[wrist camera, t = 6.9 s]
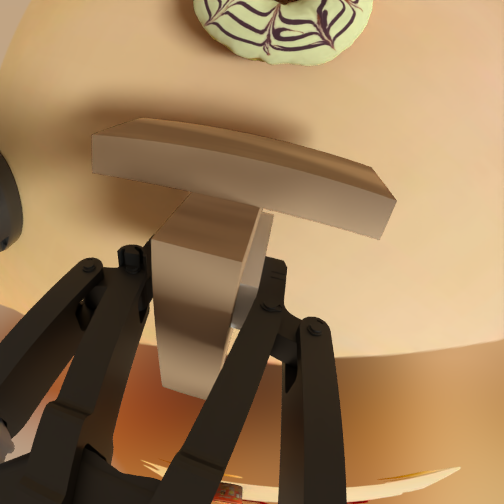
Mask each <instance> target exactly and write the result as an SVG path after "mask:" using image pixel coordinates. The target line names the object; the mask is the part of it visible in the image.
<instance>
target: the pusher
mask: <svg viewBox="0 0 504 504" xmlns="http://www.w3.org/2000/svg"><path fill="white" fill-rule="evenodd" d="M92 173H96V174H102V175H107V176H113V177H119V178H124V179H130V180H135V181H140V182H145V183H151V184H156V185H161V186H166V187H171V188H175V189H180V190H185V191H190V192H192V193H191V194H190V195H189V196H188V197H187V198H186V199H185V200H184V202H183V203H182V204H181V205H180V206H179V207H178V208H177V209H176V210H175V212H174V213H173V214H172V215H171V216H170V217H169V218H168V220H167V221H166V222H165V223H164V224H163V225H162V227H161V228H160V229H159V230H158V231H157V232H156V234H155V235H154V236H153V237H152V238H151V259H152V285H153V302H154V315H155V327H156V338H157V347H158V356H159V364H160V372H161V379H162V386H163V387H166V388H169V389H172V390H175V391H178V392H181V393H185V394H188V395H191V396H194V397H198V398H201V399H205V400H206V399H207V397H208V395H209V393H210V391H211V389H212V387H213V385H214V383H215V381H216V379H217V377H218V375H219V373H220V371H221V369H222V367H223V364H224V361H225V356H226V353H227V350H228V346H229V343H230V339H231V335H232V332H233V328H232V327H231V323H232V318H233V313H234V309H235V304H236V300H237V295H238V291H239V286H240V282H241V279H242V275H243V272H244V269H245V265H246V262H247V259H248V255H249V252H250V249H251V245H252V242H253V239H254V235H255V232H256V229H257V225H258V222H259V219H260V215H261V212H262V210H263V208H264V209H268V210H272V211H276V212H280V213H283V214H287V215H291V216H295V217H299V218H303V219H307V220H310V221H314V222H318V223H321V224H325V225H329V226H332V227H336V228H339V229H343V230H347V231H350V232H353V233H357V234H360V235H364V236H367V237H371V238H374V239H377V240H380V238H381V236H382V234H383V232H384V229H385V227H386V225H387V223H388V220H389V218H390V216H391V213H392V211H393V209H394V206H395V204H396V202H397V200H396V199H395V198H394V196H393V195H392V194H391V192H390V191H389V190H388V188H387V187H386V186H385V184H384V183H383V182H382V180H381V179H380V178H379V176H378V175H377V174H376V173H375V171H374V170H373V169H372V168H371V167H369V166H366V165H363V164H360V163H357V162H354V161H351V160H348V159H345V158H342V157H339V156H335V155H332V154H329V153H325V152H322V151H318V150H315V149H311V148H307V147H304V146H300V145H296V144H292V143H288V142H284V141H280V140H276V139H272V138H267V137H263V136H258V135H254V134H249V133H244V132H239V131H234V130H228V129H223V128H217V127H211V126H205V125H199V124H192V123H185V122H177V121H169V120H161V119H151V118H139V119H135V120H132V121H129V122H126V123H123V124H120V125H117V126H114V127H111V128H108V129H106V130H103V131H100V132H97V133H95V134H92Z"/></svg>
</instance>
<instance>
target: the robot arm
mask: <svg viewBox="0 0 504 504" xmlns="http://www.w3.org/2000/svg"><path fill="white" fill-rule="evenodd" d="M273 217H274V215H273V214H269V213H265V212H261V215H260V219H259V222H258V225H257V229H256V232H255V235H254V239H253V242H252V245H251V249H250V252H249V255H248V259H247V262H246V265H245V269H244V272H243V275H242V279H241V282H240V286H239V291H238V295H237V300H236V304H235V309H234V313H233V318H232V323H231V327H232V328H236V329H240V332H239V334H238V336H237V338H236V340H235V342H234V344H233V346H232V349H231V351H230V353H229V355H228V357H227V359H226V361H225V363H224V365H223V367H222V369H221V371H220V373H219V375H218V377H217V379H216V381H215V383H214V385H213V387H212V389H211V391H210V393H209V395H208V397H207V399H206V401H205V403H204V405H203V407H202V409H201V411H200V413H199V415H198V417H197V419H196V421H195V423H194V425H193V427H192V429H191V431H190V433H189V435H188V437H187V439H186V441H185V443H184V445H183V446H182V448H181V449H180V451H179V452H178V453H177V454H176V455H175V457H174V458H173V460H172V462H171V464H170V465H169V467H168V469H167V471H166V473H165V475H164V477H163V479H162V480H161V481H160V480H158V479H154V478H150V477H143V476H136V475H130V474H124V473H121V472H119V471H118V470H117V469H115V468H114V467H113V466H111V461H112V456H113V433H114V429H115V425H116V421H117V417H118V413H119V409H120V405H121V401H122V398H123V394H124V391H125V387H126V383H127V380H128V377H129V373H130V370H131V366H132V363H133V360H134V357H135V353H136V350H137V347H138V344H139V341H140V338H141V335H142V332H143V329H144V326H145V323H146V320H147V317H148V314H149V309H150V307H149V303H150V301H151V300H152V298H153V285H152V259H151V238H152V237H153V236H154V235H155V234H154V235H153V236H152V237H151V238H150V239H149V241H148V242H147V243H146V244H145V246H143V247H141V246H139V245H126V246H123V247H121V248H120V249H119V250H118V251H117V252H118V261H119V267H118V268H107V267H103V264H102V262H101V261H100V260H99V259H97V258H86V259H83V260H82V261H80V262H79V263H78V264H76V265H75V266H74V267H73V268H72V269H71V270H70V271H69V272H68V273H67V274H66V275H65V276H63V277H62V278H61V279H60V280H59V281H58V282H57V283H56V284H55V285H54V286H53V287H52V288H51V289H50V290H49V291H48V292H47V293H46V294H45V295H44V296H43V297H42V298H41V299H40V300H39V301H38V302H37V303H36V304H35V305H34V306H33V307H32V308H31V309H30V310H29V311H28V312H27V314H26V315H25V316H24V317H23V318H22V319H21V320H20V321H19V322H18V323H17V325H16V326H15V327H14V328H13V329H12V330H11V331H10V332H9V334H8V335H7V336H6V337H5V338H4V339H3V340H2V342H1V343H0V504H211V502H212V500H213V498H214V496H215V493H216V491H217V489H218V487H219V484H220V482H221V480H222V477H223V475H224V472H225V469H226V466H227V464H228V461H229V459H230V457H231V454H232V452H233V449H234V447H235V445H236V442H237V440H238V437H239V435H240V432H241V430H242V427H243V425H244V422H245V420H246V417H247V415H248V412H249V410H250V407H251V404H252V402H253V399H254V396H255V394H256V391H257V389H258V386H259V383H260V380H261V378H262V375H263V372H264V369H265V367H266V364H267V361H268V358H269V356H270V355H271V356H273V357H274V358H276V359H278V360H280V361H282V412H281V416H282V417H281V450H280V475H279V496H278V504H347V500H346V474H345V457H344V443H343V431H342V420H341V409H340V400H339V392H338V383H337V374H336V366H335V359H334V352H333V345H332V338H331V331H330V328H329V326H328V325H327V324H326V322H325V321H323V320H321V319H320V318H316V317H306V318H304V319H303V320H301V319H299V318H297V317H295V316H293V315H292V314H290V313H289V312H288V311H287V309H286V308H285V306H284V294H285V284H286V275H287V266H286V264H285V262H284V261H283V260H279V259H275V258H271V257H267V256H265V255H266V251H267V246H268V241H269V236H270V232H271V227H272V222H273ZM22 224H23V217H22V207H21V202H20V197H19V193H18V190H17V186H16V183H15V180H14V178H13V175H12V173H11V171H10V168H9V166H8V164H7V163H6V161H5V159H4V158H3V156H2V155H1V153H0V252H1V251H4V250H6V249H7V248H9V247H10V246H11V245H12V244H13V243H14V242H15V241H17V240H18V238H19V237H20V235H21V231H22ZM153 303H154V302H153ZM73 356H74V358H73V360H72V362H71V365H70V367H69V370H68V372H67V375H66V377H65V380H64V382H63V385H62V387H61V390H60V393H59V395H58V397H57V399H56V400H55V401H52V402H49V403H48V404H47V405H46V407H45V409H44V411H43V414H42V417H41V420H40V423H39V426H38V429H37V432H36V435H35V438H34V442H33V445H32V449H31V452H30V453H27V454H25V455H22V456H20V457H17V458H15V459H12V460H9V461H6V462H4V460H5V456H6V455H7V453H12V452H13V451H14V444H13V442H12V441H11V439H12V438H13V437H14V436H15V435H16V434H17V433H18V432H19V431H20V430H21V429H22V428H23V427H24V425H25V424H26V423H27V421H28V420H29V419H30V417H31V415H32V414H33V412H34V411H35V409H36V408H37V406H38V405H39V403H40V402H41V400H42V399H43V398H44V396H45V395H46V393H47V392H48V390H49V389H50V387H51V386H52V384H53V383H54V382H55V380H56V379H57V378H58V376H59V375H60V373H61V372H62V371H63V369H64V368H65V367H66V365H67V364H68V362H69V361H70V360H71V358H72V357H73Z"/></svg>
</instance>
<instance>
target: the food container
mask: <svg viewBox="0 0 504 504" xmlns="http://www.w3.org/2000/svg"><path fill="white" fill-rule="evenodd" d="M212 501H213V502H217V503H222V504H243V503H242V487H241V486H238V485H234V484H228V483H220V484H219V487H218V489H217V491H216V493H215V496H214V498H213V500H212Z"/></svg>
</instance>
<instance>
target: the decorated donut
mask: <svg viewBox="0 0 504 504" xmlns="http://www.w3.org/2000/svg"><path fill="white" fill-rule="evenodd" d="M372 4H373V0H299V1H296V2H289V3H287V4H286V5H283V4H281V3H279V2H277V1H274V0H193V6H194V11H195V14H196V16H197V18H198V20H199V21H200V22H201V24H202V26H203V28H204V29H205V30H206V31H207V33H208V34H209V35H210V36H211V37H212V38H213V39H214V40H215V41H218V42H220V43H222V44H223V45H225V46H226V47H227V48H228V49H229V50H230V51H231V52H233V53H235V54H236V55H238V56H241V57H243V58H246V59H250V60H259V61H262V62H266V63H268V64H270V65H278V64H294V65H303V66H316V65H321V64H324V63H326V62H329V61H331V60H332V59H334V58H335V57H336V56H338V55H339V54H340V53H341V52H342V51H344V50H345V49H347V48H348V47H350V46H351V45H352V44H353V42H354V41H355V39H356V38H357V37H358V36H359V35H360V34H361V33H362V31H363V30H364V28H365V26H366V25H367V23H368V19H369V17H370V14H371V11H372Z"/></svg>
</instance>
